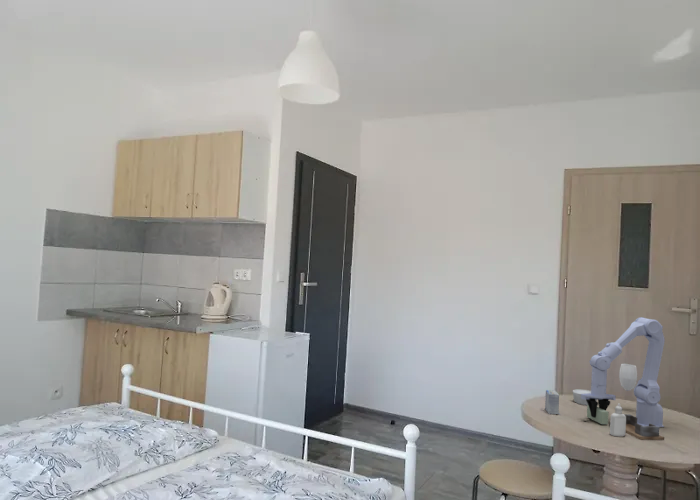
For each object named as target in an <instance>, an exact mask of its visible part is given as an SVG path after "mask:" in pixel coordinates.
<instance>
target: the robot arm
mask: <svg viewBox="0 0 700 500" xmlns="http://www.w3.org/2000/svg"><path fill="white" fill-rule="evenodd" d="M663 328H664V326H663V325H662V324H661V322H660V321H659V320H657V319H651V318H646V317H640V316H639V317H637V318H636V319H635V320H634V321H633V322H631V324H630V326H629V327H628V328H627V329H626V330H625V331H624V332H623V333H622V334H621V335H620V336H619V338H618V339H616V340H615V342H607V343H606V344H605V347H603V348H602V349H601V351H598V352H597V354H594V355H592V356H591V358H590V360H589V361H588V362H589V364H590V366H591V382H590V391H591V393H588V394H581V399H583V400H586V401H587V403H588V405H589V408H590V412H591V416H592V417H594V418H596V410H597V407H599V408H601V409H603V410H606V411H607V409H608V407H609V406H610V405H611V400H612V401H616V395H615V394H612V393H611V394H609V393H608V394H607V384H608V382H607V378H608V369H610V368H611V363H612V362H613V361H615V360H616V359H617V358H618V357H619V356H620V355H621V354H622V352H623V348H624V347H625V346H627V344H629V343H630V342H631V341H633V340H634V339H635V338H636V337H638V336H639V337H641V336H642V337H643V336H644V337H645V338H646V339H647V342H648V345H647V346H648V347H647V351H646V355H645V361H644V365H643V372H642V375H641V378H640V379H639V380H637V382H636V385H635V387H634V389H633V395H634V396H635V398H636V407H635V409H636V411H635V417H637V424H639V425H642V426H649V424H653V425H655V426H657V427H660V428H664V427H665V426H664V425H663V423H664V410H663V407H662V405H661V404H660V403H659V402H661V401H660V400H661V393H660V389H661V387H660V385H659V384H658V377H659V372H660V365H661V363H662V362H661V361H662V358H663V357H662V356H663V351H664V346H665V342H666V341H665V340H666V339H665V335H664V332H663ZM595 399H597V402H596V400H595Z"/></svg>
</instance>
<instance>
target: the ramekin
mask: <svg viewBox="0 0 700 500" xmlns="http://www.w3.org/2000/svg"><path fill="white" fill-rule="evenodd" d="M588 393H591V390H588V389H573V390H572V397H573V401H574V402H575V403H576V404H578V405H583V406H587V405H588V403H587V401H586V400H583V399H581V394H588ZM595 400H596V402H598V400H597V399H595Z"/></svg>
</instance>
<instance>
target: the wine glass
mask: <svg viewBox="0 0 700 500" xmlns="http://www.w3.org/2000/svg"><path fill="white" fill-rule="evenodd" d="M618 375H619V376H618V377H619V383H620V387H621V388H622V389H623V390H625V391H627V392H630V391H632V390H634V388H635V387H636V386H637V382H638V369H637V366H636V365H635V364H630V363H629V364H628V363H621V364H620V367H619V373H618Z"/></svg>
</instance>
